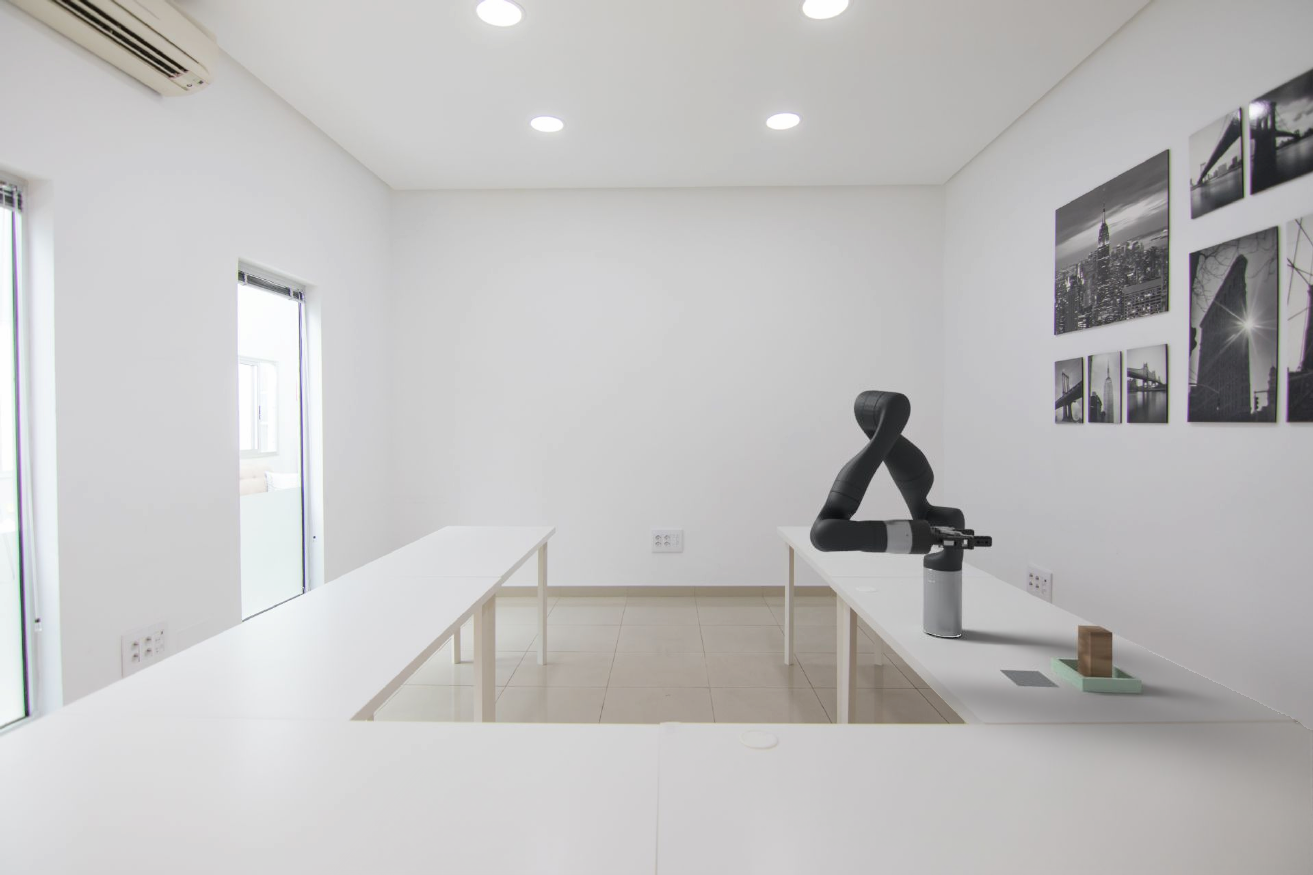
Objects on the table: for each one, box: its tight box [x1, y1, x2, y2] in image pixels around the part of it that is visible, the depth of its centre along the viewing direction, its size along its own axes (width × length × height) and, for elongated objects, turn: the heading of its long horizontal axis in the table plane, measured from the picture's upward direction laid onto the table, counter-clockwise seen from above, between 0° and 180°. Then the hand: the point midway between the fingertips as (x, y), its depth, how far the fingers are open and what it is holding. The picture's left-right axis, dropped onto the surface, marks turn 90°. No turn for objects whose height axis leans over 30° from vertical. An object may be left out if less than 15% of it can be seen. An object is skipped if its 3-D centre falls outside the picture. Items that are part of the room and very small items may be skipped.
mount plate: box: [999, 669, 1060, 688], centre depth 125 cm, size 8×8×1 cm
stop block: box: [1077, 624, 1113, 678], centre depth 124 cm, size 4×4×11 cm
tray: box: [1050, 657, 1142, 694], centre depth 124 cm, size 11×11×4 cm
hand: (982, 537), depth 129 cm, fingers open, 8 cm apart
